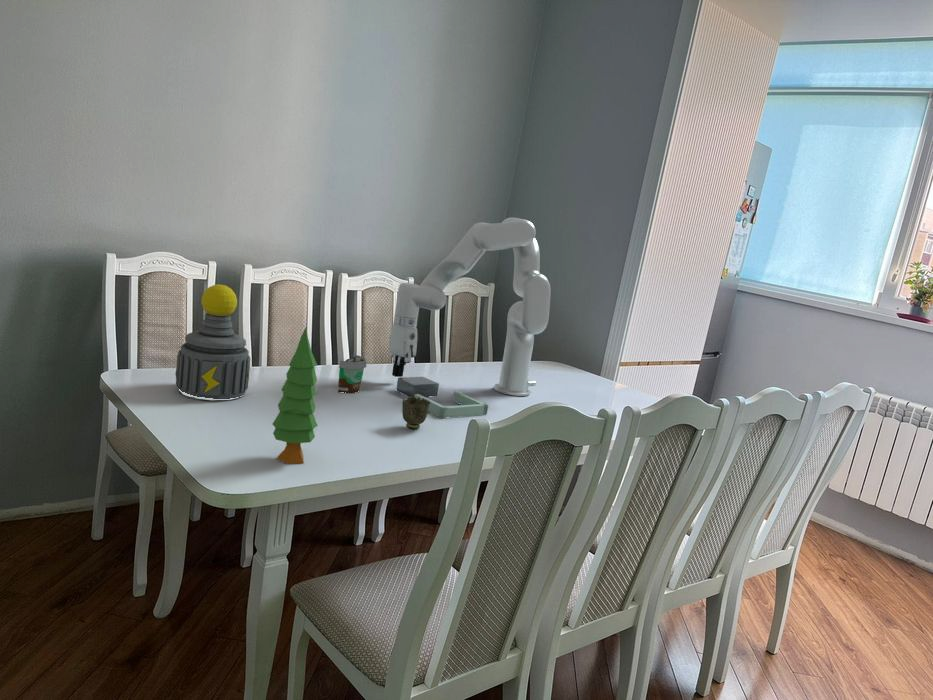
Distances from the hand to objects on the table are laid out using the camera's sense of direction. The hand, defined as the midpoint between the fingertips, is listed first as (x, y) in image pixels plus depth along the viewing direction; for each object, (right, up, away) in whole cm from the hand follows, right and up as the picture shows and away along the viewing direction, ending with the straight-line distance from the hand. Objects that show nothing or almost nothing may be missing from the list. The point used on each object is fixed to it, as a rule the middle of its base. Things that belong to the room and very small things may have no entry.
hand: (397, 375), depth 242 cm
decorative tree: (-16, -16, -79) cm, 82 cm away
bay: (+18, -9, -20) cm, 28 cm away
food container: (-12, -4, -16) cm, 21 cm away
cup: (+8, -13, -45) cm, 47 cm away
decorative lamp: (-47, -3, -40) cm, 62 cm away
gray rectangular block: (+7, -6, -7) cm, 12 cm away
